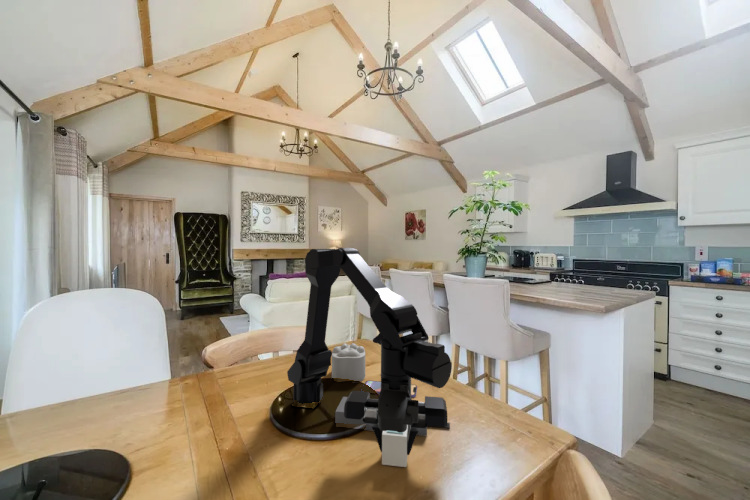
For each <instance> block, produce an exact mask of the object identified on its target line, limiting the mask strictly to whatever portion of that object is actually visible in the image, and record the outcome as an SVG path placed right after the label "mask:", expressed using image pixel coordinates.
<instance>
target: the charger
mask: <svg viewBox="0 0 750 500" xmlns="http://www.w3.org/2000/svg"><path fill="white" fill-rule="evenodd" d="M408 435H409V434H408V425H407V429H406V431H405V432H397V431H389V430H387V431H383V433H382V452H381V465H383V466H393V467H400V468H401V467H402V468H403V467H404V468H407V467H408V464H407V463H408V455H407V443H408Z"/></svg>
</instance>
